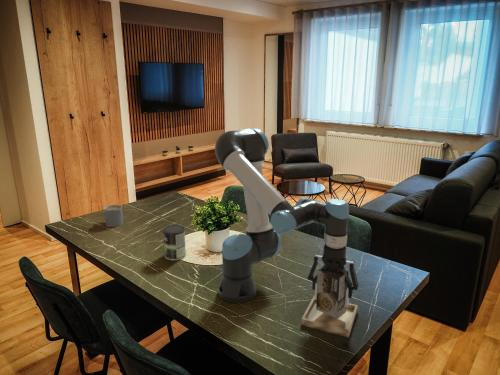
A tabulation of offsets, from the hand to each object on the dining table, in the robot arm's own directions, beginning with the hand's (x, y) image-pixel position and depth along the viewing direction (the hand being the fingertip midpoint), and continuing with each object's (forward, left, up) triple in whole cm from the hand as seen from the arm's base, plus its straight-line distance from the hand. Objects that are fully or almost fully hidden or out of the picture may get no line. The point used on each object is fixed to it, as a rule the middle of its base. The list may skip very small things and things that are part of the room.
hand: (331, 301), depth 139 cm
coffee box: (0, 0, -4) cm, 4 cm away
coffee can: (-80, +18, -7) cm, 82 cm away
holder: (0, 0, -7) cm, 7 cm away
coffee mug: (-138, +38, -7) cm, 143 cm away
